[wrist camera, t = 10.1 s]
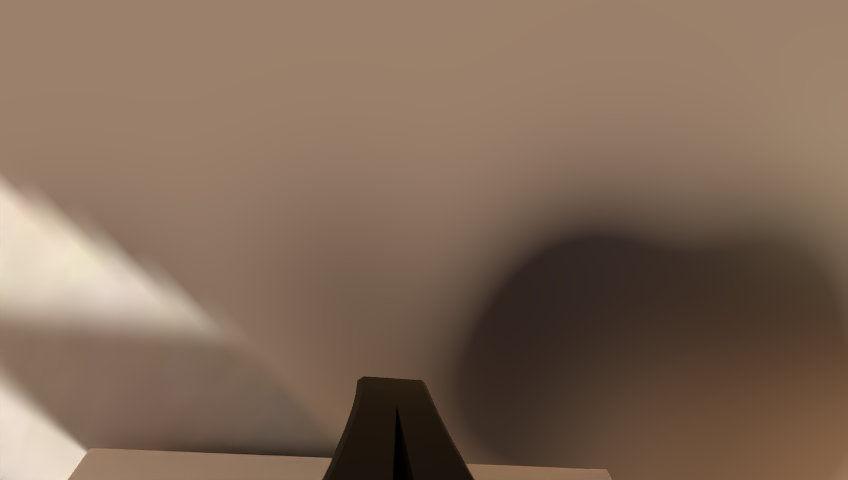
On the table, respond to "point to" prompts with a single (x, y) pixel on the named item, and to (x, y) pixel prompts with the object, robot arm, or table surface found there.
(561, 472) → the drawer
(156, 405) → the table surface
